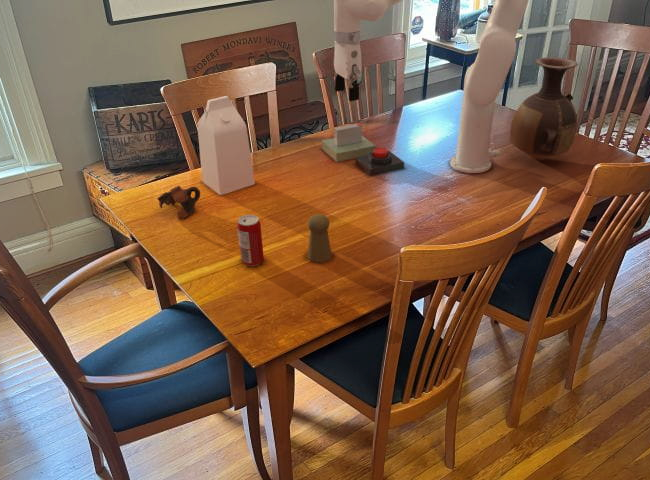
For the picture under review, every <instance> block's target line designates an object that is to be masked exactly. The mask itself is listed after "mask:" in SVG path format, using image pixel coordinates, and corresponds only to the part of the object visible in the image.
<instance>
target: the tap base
mask: <svg viewBox="0 0 650 480" xmlns="http://www.w3.org/2000/svg"><path fill="white" fill-rule="evenodd" d="M321 149H322V150H323V152H325V153H326V154H327V155H328V156H329V157H330V158H331V159H332V160H334V161H335V162H336V163H339V162H343V161H348V160H353V159H356V158H357V157H362V156H367V155H369V153H370V152H371V151H373V150H374V149H376V144H374V143H372V142H371V141H370V140H369V139H367V138H366V137H365V136H364V135H362V142H358V143H353V144H348V145H343V146H336V145H335V144H334V137H333V138H328V139H321Z"/></svg>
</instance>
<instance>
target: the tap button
mask: <svg viewBox="0 0 650 480" xmlns="http://www.w3.org/2000/svg"><path fill="white" fill-rule="evenodd" d="M387 151H388V149H386V148H385V147H375V149H374V150H373V156H374V157H376V158H384V157H387Z"/></svg>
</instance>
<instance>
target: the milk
mask: <svg viewBox="0 0 650 480" xmlns="http://www.w3.org/2000/svg"><path fill="white" fill-rule="evenodd" d="M197 136H198V147H199V158H200V170H201V181H202V183H203V184H204V185H206V186H207V187H208V188H210V190H212V191H213V192H215V193H216V194H217V195H219V196H223V195H226V194H228V193H232V192H235V191H238V190H241V189H245V188H248V187H250V186H253V185H255V184H256V181H255V175H254V174H255V173H254V168H253V162H252V154H251V147H250V141H249V140H250V139H249V135H248V128H247V124H246V122H245V120H244V119H243V117H242V116H241V114H240V113H239V112H238V110H237V109H236V107H235V106H234V104H233V102H232V101H231V99H230V97H229V96H228V95H224V96H219V97H216V98H211V99H207V103H206V108H205V111H204V112H203V114H202V115H201V117H200V118H199V120H198V121H197Z"/></svg>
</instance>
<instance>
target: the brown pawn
mask: <svg viewBox="0 0 650 480" xmlns="http://www.w3.org/2000/svg"><path fill="white" fill-rule="evenodd" d="M307 226H308V227H307V228H308V229H309V239H308V250H307V258H308V260H309V261H311V262H314V263H325V262H328V261H330V260H331V259H332V250H331V243H330V238H329V232H328V229H329V227H330V220H329V218H328V217H327V216H326V215H324V214H320V213H319V214H313V215H311V216H310V217H309V218H308V221H307Z"/></svg>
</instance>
